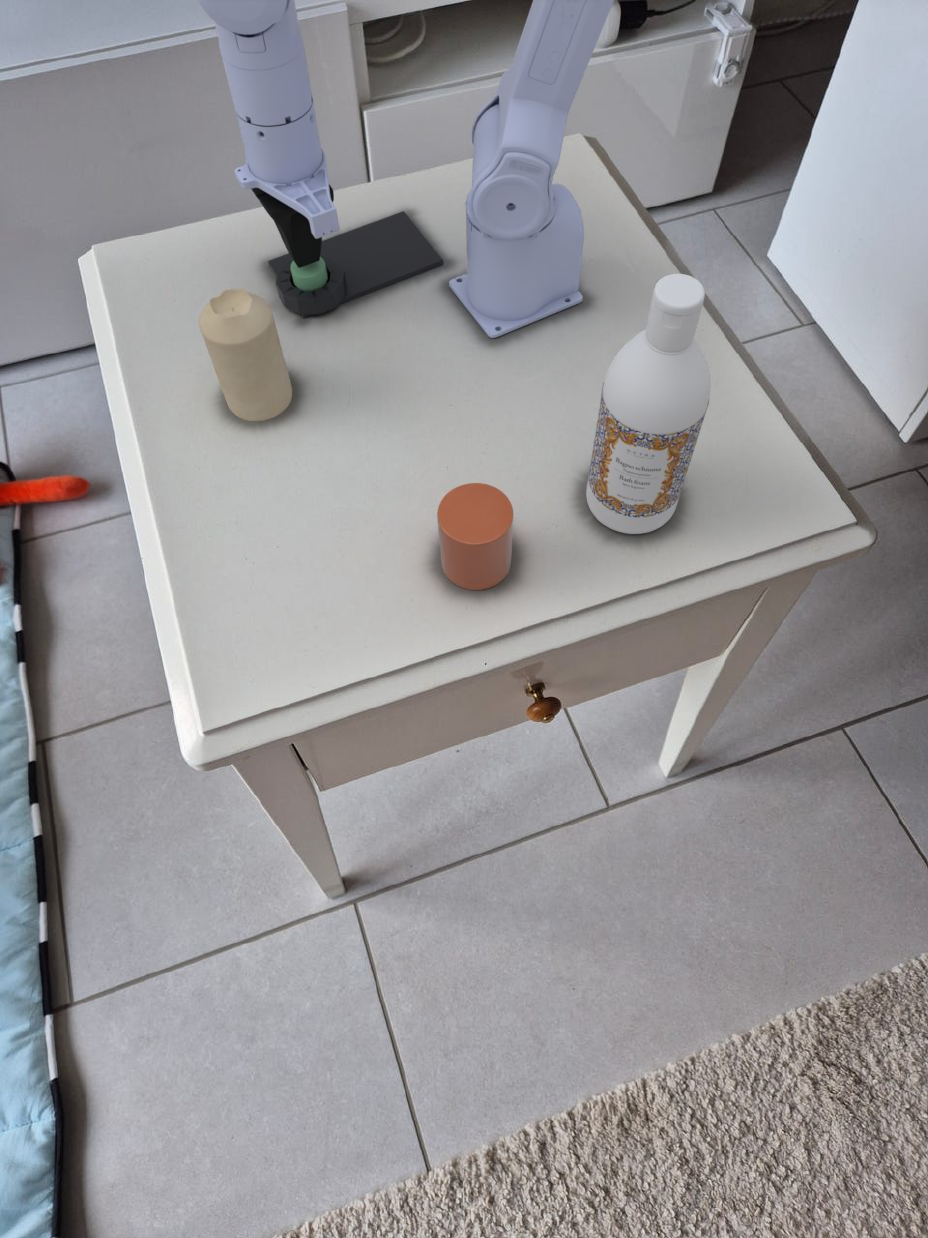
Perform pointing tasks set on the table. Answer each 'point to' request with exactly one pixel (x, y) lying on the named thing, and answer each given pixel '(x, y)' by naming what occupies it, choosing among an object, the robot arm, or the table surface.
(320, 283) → the button
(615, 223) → the table surface
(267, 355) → the candle
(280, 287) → the scale
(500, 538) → the orange cylinder
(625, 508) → the bath foam
